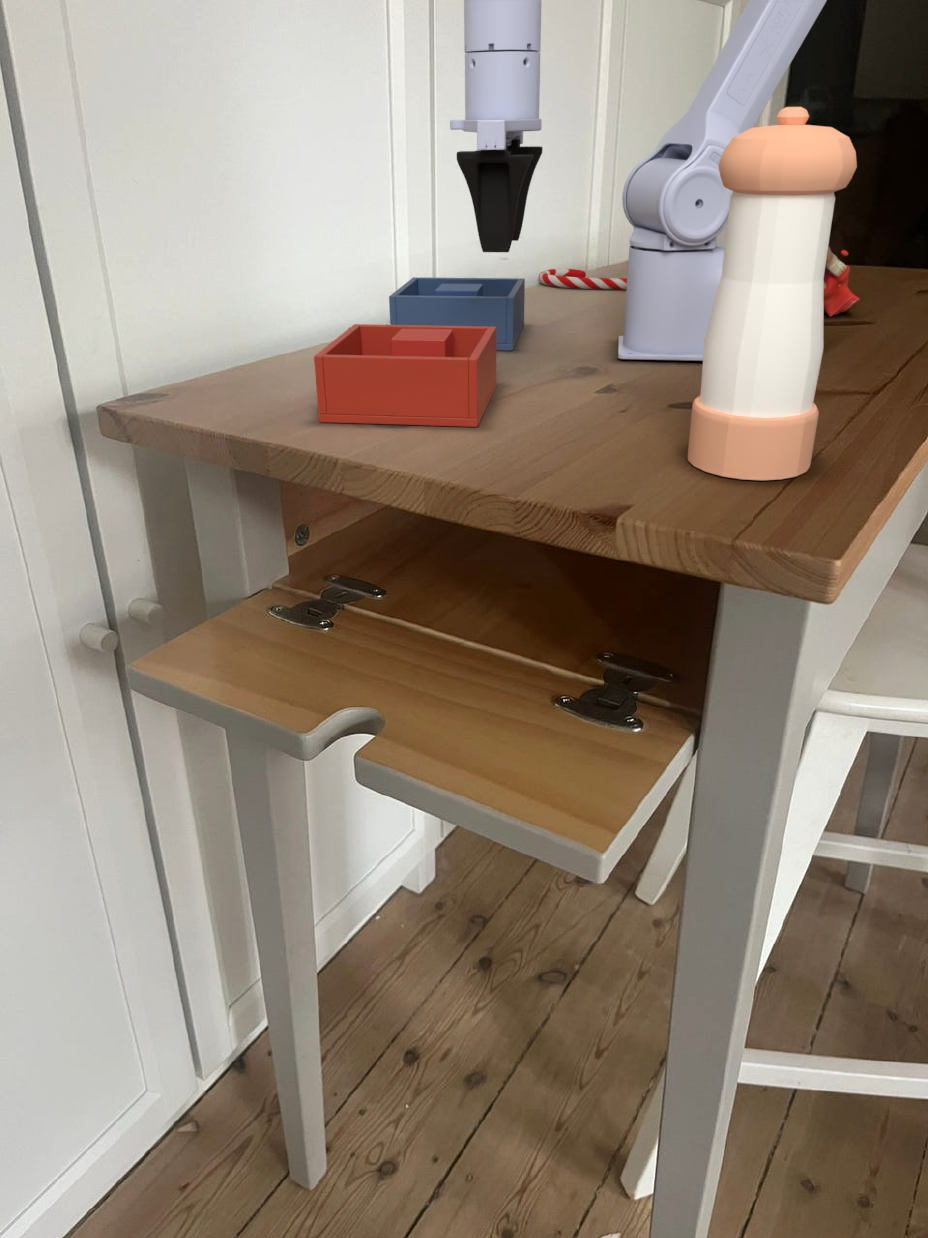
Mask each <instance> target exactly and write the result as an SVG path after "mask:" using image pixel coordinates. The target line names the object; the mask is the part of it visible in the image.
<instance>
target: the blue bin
mask: <svg viewBox="0 0 928 1238" xmlns="http://www.w3.org/2000/svg"><path fill="white" fill-rule="evenodd" d="M441 284H483V296H435V290H436V289H437V288H438V287H439V286H440V285H441ZM525 285H526V279H525V278H523V277H522V278H518V277H517V278H515V277H511V278H510V277H509V278H508V277H505V278H504V277H502V278H501V277H416V276H415V277H412V278H410V279H409V280H408V281H406V283H403V285H401V286H400V287H399V288H398V289H396V290H395V291H393V293H391V294H390V295H389V296H388V302H389V303H388V304H389V305H388V306H389V323H390V324H389V325H431V326H488V327H489V326H495V327H497V347H496V351H506V352H507V351H509V352H511V351H512V352H513V350H514V348H515V346H516V345H517V342H518V340H519V337H520V336H521V334H522V331H523V329H524V327H525V291H526V290H525V289H526V288H525Z"/></svg>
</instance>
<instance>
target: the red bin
mask: <svg viewBox="0 0 928 1238" xmlns="http://www.w3.org/2000/svg"><path fill="white" fill-rule="evenodd" d="M402 328H403V329H453V350H454V357H419V356H392V352H391V339H392V338H393V337H394V336H395V335H396V334H397V333H398V332H399V331H400V330H401V329H402ZM496 347H497V327H495V326H489V327H488V326H431V325H390V324H366V323H364V324H363V323H362V324H360V323H359V324H358V323H355V324H353V325H352V326H350V327H349V328H348V329H346V330H345V331H344V332H342V334H340V335H338V336H337V337H336V338H335V339H334V340H332V341H331V342H330V343H329V344H328V345H326V346H325V347H324V348H322V349H321V350H320V351H318V352H317V353H316V354H315V355H314V356H313V360H314V361H313V362H314V373H315V375H314V376H315V385H316V386H315V387H316V397H317V398H316V399H317V409H318V410H317V411H318V421H319V423H329V424H330V423H331V424H332V423H333V424H363V425H365V424H367V425H368V424H369V425H397V426H398V425H399V426H426V427H427V426H431V427H433V426H434V427H463V428H465V427H466V428H478V426H479V424H480V422H481V420H482V418H483V415H484V413H485V411H486V410H487V407H488V405H489V402H490V400H491V399H492V396H493V394H494V392H495V390H496V387H497V350H496Z"/></svg>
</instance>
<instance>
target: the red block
mask: <svg viewBox="0 0 928 1238" xmlns="http://www.w3.org/2000/svg"><path fill="white" fill-rule="evenodd" d="M391 352H392V356H419V357H454V350H453V329H403V328H402V329H401V330H400V331H399V332H398V333H397V334H396V335H395V336H394V337H393V338H392V339H391Z"/></svg>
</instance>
